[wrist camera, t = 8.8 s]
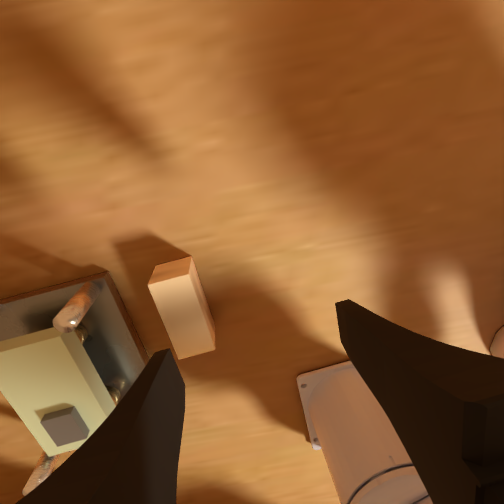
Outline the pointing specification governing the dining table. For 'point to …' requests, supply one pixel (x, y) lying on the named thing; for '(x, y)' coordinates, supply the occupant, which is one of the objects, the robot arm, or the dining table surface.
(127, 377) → the chassis
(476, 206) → the dining table surface
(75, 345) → the board
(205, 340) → the block
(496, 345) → the figurine
